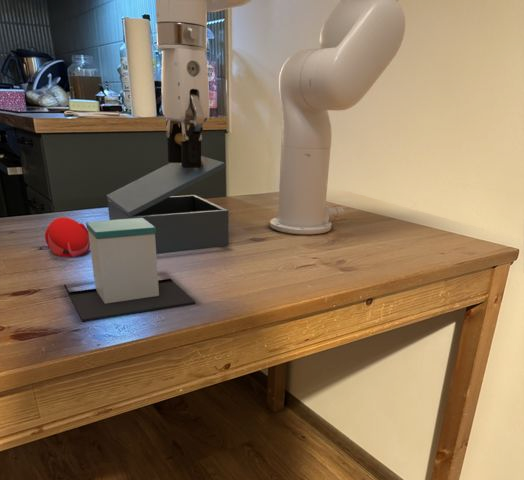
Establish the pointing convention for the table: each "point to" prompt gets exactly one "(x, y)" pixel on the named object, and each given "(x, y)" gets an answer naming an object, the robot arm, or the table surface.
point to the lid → (162, 184)
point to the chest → (182, 223)
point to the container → (124, 259)
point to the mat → (128, 302)
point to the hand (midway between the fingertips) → (184, 163)
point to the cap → (67, 237)
